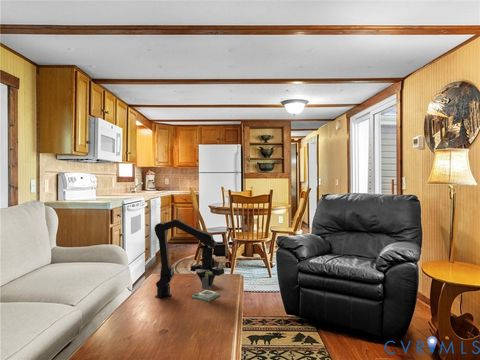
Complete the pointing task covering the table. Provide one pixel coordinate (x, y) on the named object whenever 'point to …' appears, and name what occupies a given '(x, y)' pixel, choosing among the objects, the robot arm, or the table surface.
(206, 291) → the board
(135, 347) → the table surface
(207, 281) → the plug
